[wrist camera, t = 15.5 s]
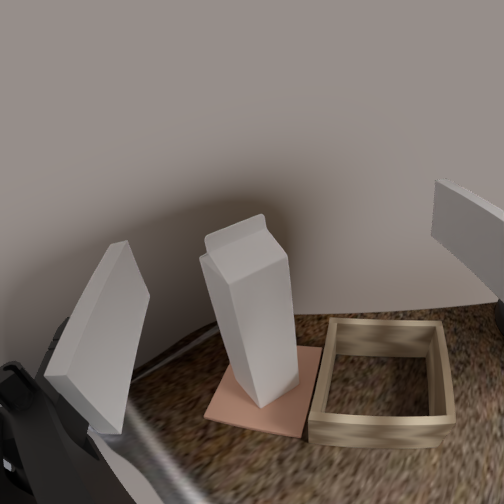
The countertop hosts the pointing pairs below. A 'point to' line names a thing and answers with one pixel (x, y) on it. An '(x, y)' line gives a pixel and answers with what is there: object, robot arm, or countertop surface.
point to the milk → (253, 307)
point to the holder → (385, 345)
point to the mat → (275, 413)
